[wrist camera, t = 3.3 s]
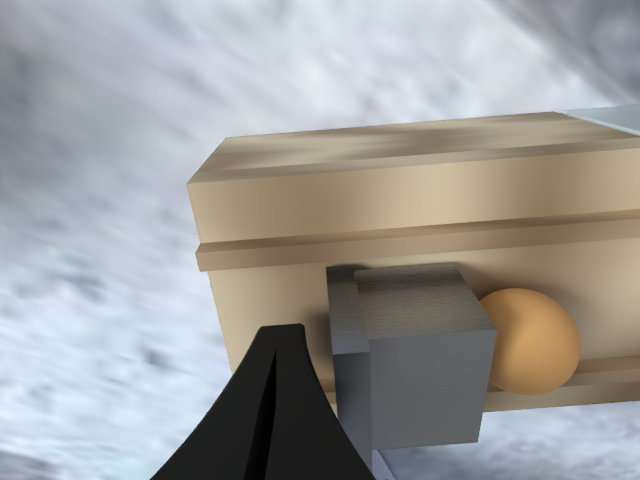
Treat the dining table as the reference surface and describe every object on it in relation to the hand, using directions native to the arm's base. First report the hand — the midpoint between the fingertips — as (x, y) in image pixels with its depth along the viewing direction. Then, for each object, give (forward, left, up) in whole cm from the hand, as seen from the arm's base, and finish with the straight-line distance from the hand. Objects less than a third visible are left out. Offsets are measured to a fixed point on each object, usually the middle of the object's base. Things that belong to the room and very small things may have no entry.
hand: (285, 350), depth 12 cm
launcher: (-2, -6, -7) cm, 9 cm away
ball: (-2, -6, 0) cm, 7 cm away
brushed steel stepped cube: (-1, -3, -1) cm, 3 cm away
